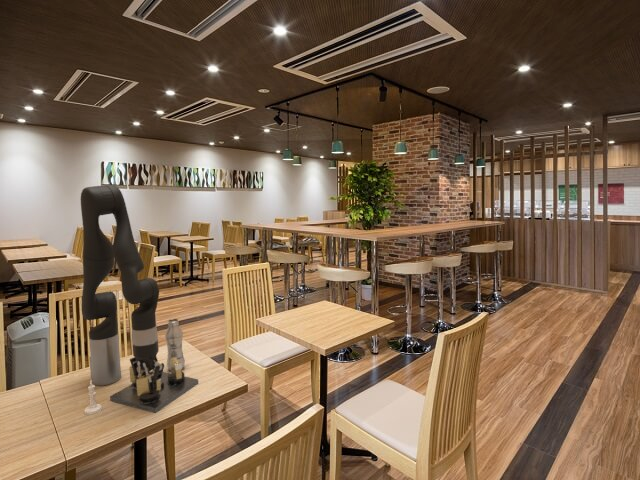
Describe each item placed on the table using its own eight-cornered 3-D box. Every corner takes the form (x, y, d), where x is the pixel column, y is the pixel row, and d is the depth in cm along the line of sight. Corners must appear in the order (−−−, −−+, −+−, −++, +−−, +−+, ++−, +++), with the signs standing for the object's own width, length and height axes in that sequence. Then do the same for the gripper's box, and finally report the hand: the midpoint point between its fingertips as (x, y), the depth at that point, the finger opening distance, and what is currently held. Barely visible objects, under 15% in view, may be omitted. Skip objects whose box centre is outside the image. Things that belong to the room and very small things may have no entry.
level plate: (109, 400, 124) (108, 392, 124) (155, 374, 143) (155, 367, 142) (155, 412, 116) (155, 404, 116) (198, 383, 135) (198, 376, 135)
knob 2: (138, 404, 118) (137, 382, 117) (136, 396, 123) (135, 375, 122) (162, 397, 122) (161, 376, 121) (160, 390, 127) (158, 369, 126)
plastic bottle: (179, 373, 143) (176, 323, 140) (163, 372, 144) (160, 322, 142) (188, 366, 149) (185, 318, 147) (173, 364, 150) (170, 317, 148)
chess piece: (83, 416, 115) (80, 385, 114) (85, 408, 119) (82, 379, 118) (101, 411, 117) (99, 382, 116) (102, 404, 122) (100, 375, 121)
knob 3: (165, 379, 135) (164, 359, 134) (181, 374, 138) (180, 355, 137) (171, 386, 129) (170, 366, 128) (187, 381, 132) (186, 361, 132)
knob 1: (138, 389, 128) (137, 368, 127) (126, 386, 130) (125, 366, 129) (155, 379, 134) (153, 360, 133) (143, 377, 136) (142, 357, 135)
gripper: (120, 340, 119) (124, 390, 122) (150, 348, 113) (154, 400, 116) (140, 332, 126) (143, 379, 128) (170, 339, 120) (173, 389, 122)
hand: (148, 389), depth 122 cm, fingers closed on knob 2, 3 cm apart
